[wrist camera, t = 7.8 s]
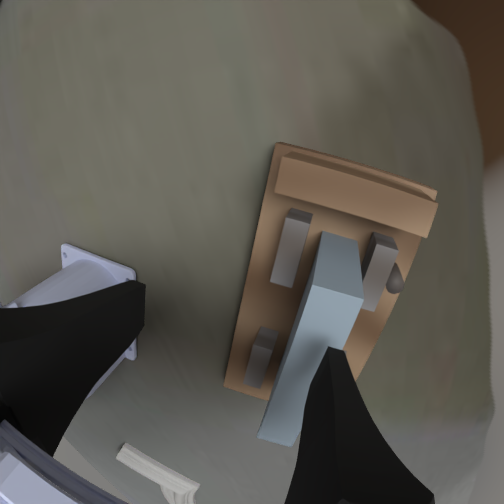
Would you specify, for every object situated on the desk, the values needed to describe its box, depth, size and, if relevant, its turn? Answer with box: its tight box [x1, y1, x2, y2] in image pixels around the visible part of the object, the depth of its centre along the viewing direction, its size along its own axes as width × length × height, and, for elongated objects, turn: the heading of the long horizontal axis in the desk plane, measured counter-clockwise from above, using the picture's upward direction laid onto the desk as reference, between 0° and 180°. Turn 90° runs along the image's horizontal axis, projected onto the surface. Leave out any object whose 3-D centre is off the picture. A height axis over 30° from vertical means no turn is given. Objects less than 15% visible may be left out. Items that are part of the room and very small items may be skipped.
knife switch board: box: [223, 142, 438, 401], centre depth 18 cm, size 18×9×5 cm, turn 168°
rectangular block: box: [257, 231, 364, 447], centre depth 16 cm, size 10×3×6 cm, turn 169°
